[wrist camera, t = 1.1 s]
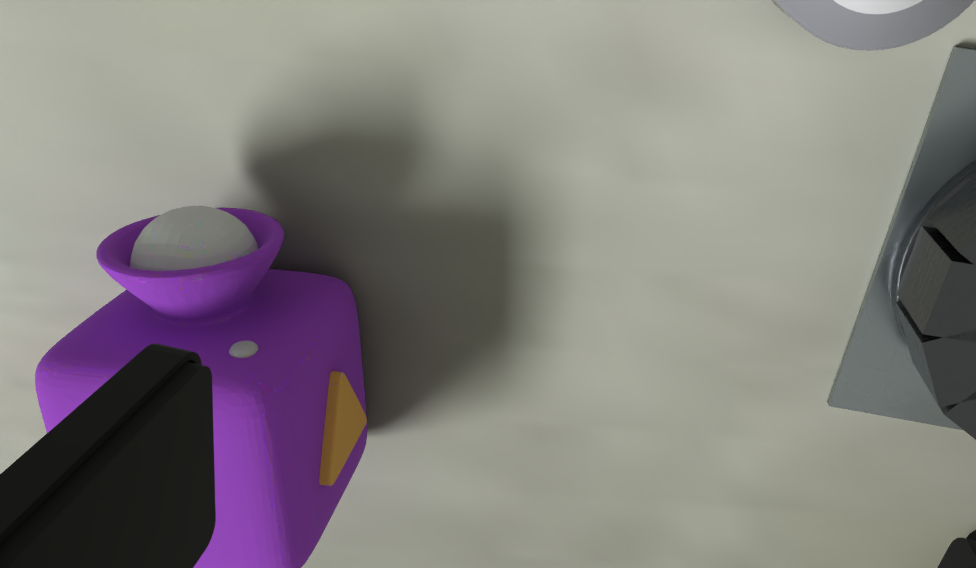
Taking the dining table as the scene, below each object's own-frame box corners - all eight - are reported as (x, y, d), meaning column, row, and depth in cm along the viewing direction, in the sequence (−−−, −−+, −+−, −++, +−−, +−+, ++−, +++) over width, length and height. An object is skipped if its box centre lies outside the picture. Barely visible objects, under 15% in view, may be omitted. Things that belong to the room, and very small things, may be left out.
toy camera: (336, 155, 31) (212, 255, 22) (415, 439, 36) (340, 611, 28) (105, 189, 34) (-90, 292, 25) (210, 450, 39) (82, 610, 30)
